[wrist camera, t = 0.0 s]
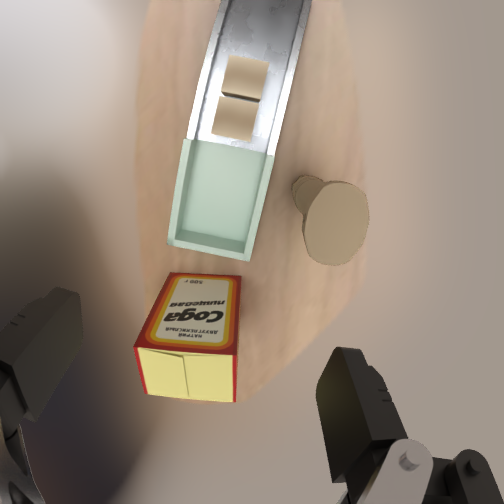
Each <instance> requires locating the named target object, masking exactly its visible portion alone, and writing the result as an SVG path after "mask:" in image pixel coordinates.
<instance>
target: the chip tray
mask: <svg viewBox="0 0 504 504" xmlns="http://www.w3.org/2000/svg"><path fill="white" fill-rule="evenodd" d="M274 158H275V157H274V156H272V155H268V154H266V153H263V152H258V151H254V150H249V149H245V148H240V147H235V146H230V145H225V144H220V143H215V142H209V141H204V140H198V139H194V140H193V139H188V138H185V139H184V141H183V146H182V151H181V157H180V162H179V168H178V174H177V179H176V185H175V192H174V198H173V204H172V211H171V218H170V225H169V232H168V240H167V245H172V246H177V247H181V248H186V249H191V250H196V251H200V252H205V253H210V254H215V255H220V256H224V257H229V258H234V259H239V260H244V261H250V257H251V253H252V249H253V245H254V241H255V237H256V233H257V228H258V224H259V220H260V216H261V212H262V208H263V204H264V200H265V195H266V191H267V187H268V183H269V179H270V175H271V171H272V167H273V163H274Z"/></svg>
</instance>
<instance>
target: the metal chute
mask: <svg viewBox="0 0 504 504" xmlns="http://www.w3.org/2000/svg"><path fill="white" fill-rule="evenodd" d="M311 2H312V0H221V4H220V7H219V10H218V13H217V17H216V20H215V23H214V27H213V30H212V34H211V37H210V41H209V45H208V48H207V52H206V56H205V60H204V64H203V67H202V71H201V75H200V79H199V84H198V88H197V92H196V96H195V101H194V105H193V110H192V114H191V119H190V124H189V128H188V133H187V138H188V139H193V140H194V139H198V140H204V141H209V142H215V143H220V144H225V145H230V146H235V147H240V148H245V149H249V150H254V151H258V152H263V153H266V154H268V155H272V156H274V154H275V150H276V146H277V141H278V137H279V133H280V129H281V125H282V121H283V117H284V113H285V109H286V104H287V100H288V96H289V92H290V88H291V84H292V80H293V76H294V72H295V67H296V63H297V59H298V55H299V51H300V47H301V43H302V39H303V35H304V31H305V26H306V22H307V18H308V14H309V10H310V6H311ZM229 55H234V56H240V57H245V58H251V59H256V60H260V61H265V62H270V63H269V67H268V71H267V75H266V79H265V83H264V87H263V91H262V95H261V99H260V102H254V101H250V100H245V99H240V98H235V97H229V96H224V95H223V94H222V93H221V86H222V82H223V78H224V74H225V70H226V66H227V62H228V58H229ZM219 96H223V97H229V98H234V99H239V100H244V101H249V102H254V103H258V104H259V107H258V112H257V116H256V120H255V124H254V128H253V133H252V137H251V141H250V142H248V141H243V140H238V139H233V138H228V137H223V136H218V135H213V134H211V130H212V125H213V121H214V116H215V112H216V108H217V103H218V99H219Z"/></svg>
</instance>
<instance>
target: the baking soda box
mask: <svg viewBox="0 0 504 504" xmlns="http://www.w3.org/2000/svg"><path fill="white" fill-rule="evenodd" d="M240 303H241V276H233V275H211V274H191V273H172V272H170V274H169V276H168V278H167V279H166V281H165V283H164V285H163V287H162V289H161V291H160V293H159V295H158V297H157V299H156V301H155V303H154V305H153V307H152V309H151V311H150V313H149V315H148V317H147V319H146V321H145V323H144V325H143V327H142V330H141V332H140V334H139V336H138V338H137V340H136V342H135V344H134V346H133V348H134V352H135V356H136V361H137V365H138V369H139V373H140V377H141V381H142V385H143V388H144V392H145V394H151V395H159V396H167V397H175V398H184V399H195V400H207V401H222V402H236V387H237V367H238V347H239V328H240Z"/></svg>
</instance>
